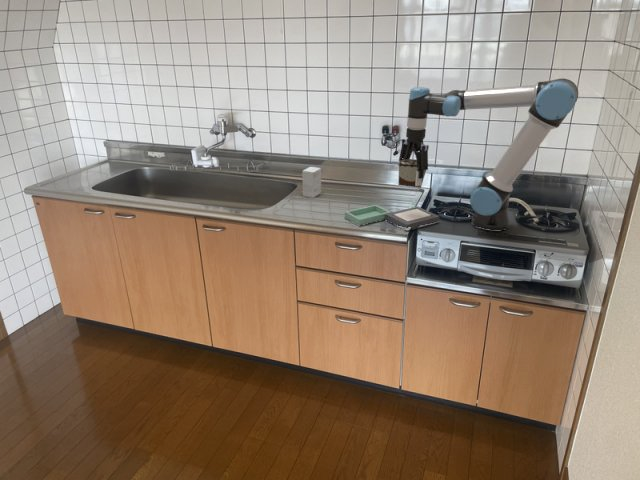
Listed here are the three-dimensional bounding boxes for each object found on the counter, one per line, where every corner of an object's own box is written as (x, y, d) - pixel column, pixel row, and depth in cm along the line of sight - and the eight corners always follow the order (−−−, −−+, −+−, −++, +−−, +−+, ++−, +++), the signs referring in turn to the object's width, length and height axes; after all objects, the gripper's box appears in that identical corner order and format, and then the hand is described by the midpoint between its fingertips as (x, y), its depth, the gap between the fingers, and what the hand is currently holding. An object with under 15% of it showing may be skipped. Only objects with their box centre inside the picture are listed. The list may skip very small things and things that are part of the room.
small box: (310, 191, 250) (310, 166, 244) (321, 193, 247) (321, 168, 242) (302, 196, 243) (302, 170, 238) (313, 198, 240) (313, 172, 235)
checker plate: (430, 217, 211) (431, 215, 211) (407, 223, 205) (407, 221, 205) (416, 210, 218) (417, 208, 218) (393, 216, 212) (393, 214, 212)
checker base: (438, 222, 211) (439, 215, 210) (406, 231, 203) (407, 223, 201) (416, 212, 222) (417, 205, 221) (385, 220, 214) (385, 212, 212)
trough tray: (390, 218, 216) (391, 212, 215) (359, 226, 208) (359, 219, 207) (375, 210, 224) (376, 204, 223) (344, 218, 216) (344, 211, 215)
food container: (424, 182, 210) (428, 160, 205) (424, 188, 205) (428, 165, 200) (395, 179, 211) (398, 157, 206) (394, 184, 206) (398, 162, 201)
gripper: (441, 132, 190) (435, 188, 199) (406, 122, 206) (402, 174, 216) (426, 134, 186) (421, 191, 196) (392, 124, 203) (388, 177, 212)
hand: (411, 182), depth 206 cm, fingers open, 8 cm apart
